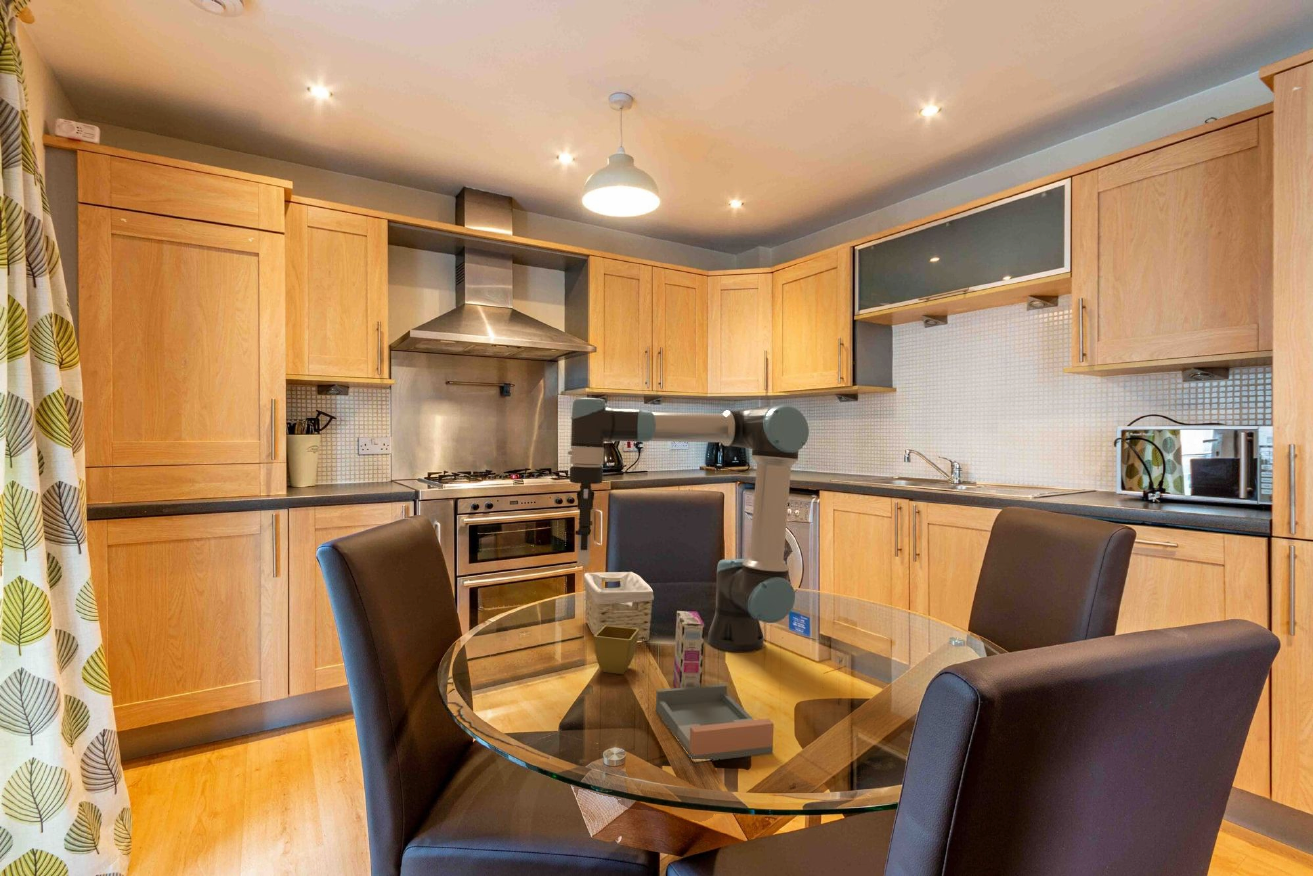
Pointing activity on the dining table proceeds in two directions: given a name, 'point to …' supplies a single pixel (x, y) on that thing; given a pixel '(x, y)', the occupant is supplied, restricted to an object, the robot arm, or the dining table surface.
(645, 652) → the dining table surface
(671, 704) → the gray drawer tray
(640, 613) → the storage basket
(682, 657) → the candy bar box
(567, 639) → the dining table surface
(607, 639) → the flower pot
